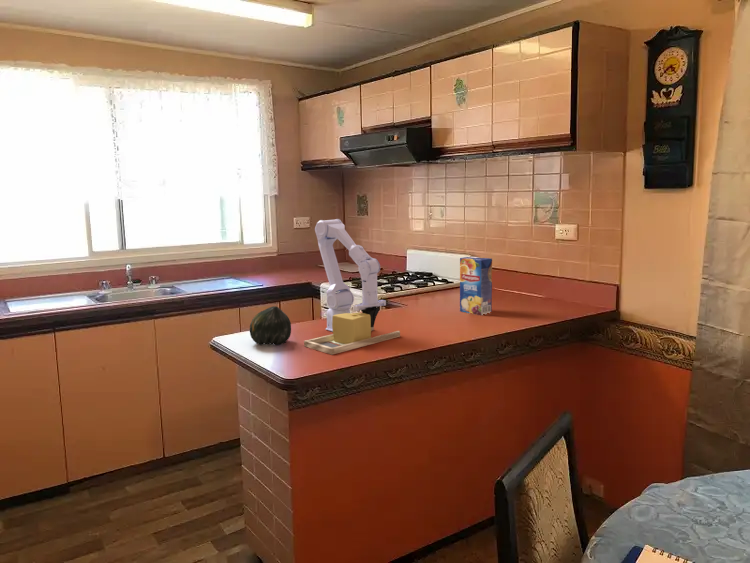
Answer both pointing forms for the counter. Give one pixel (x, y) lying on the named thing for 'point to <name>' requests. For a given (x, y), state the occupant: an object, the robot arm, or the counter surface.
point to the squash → (270, 327)
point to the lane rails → (315, 344)
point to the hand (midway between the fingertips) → (370, 326)
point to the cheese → (351, 327)
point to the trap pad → (329, 344)
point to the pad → (337, 342)
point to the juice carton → (476, 285)
